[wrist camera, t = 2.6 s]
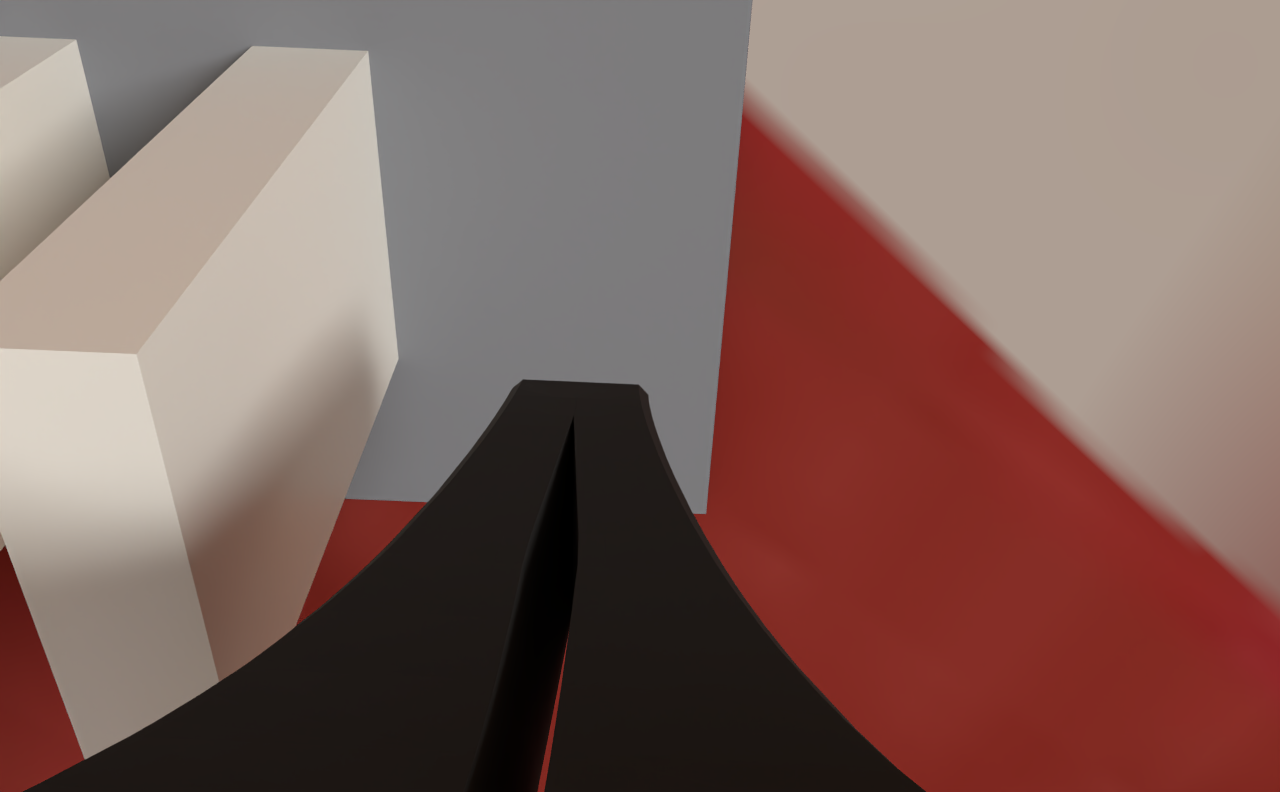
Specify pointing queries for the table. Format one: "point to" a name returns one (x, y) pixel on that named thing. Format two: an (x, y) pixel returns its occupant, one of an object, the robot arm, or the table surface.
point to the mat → (493, 190)
